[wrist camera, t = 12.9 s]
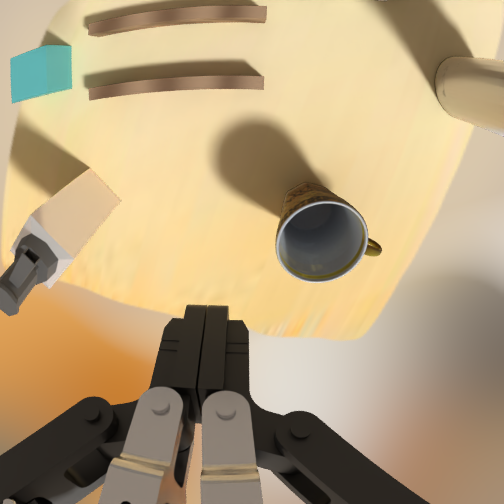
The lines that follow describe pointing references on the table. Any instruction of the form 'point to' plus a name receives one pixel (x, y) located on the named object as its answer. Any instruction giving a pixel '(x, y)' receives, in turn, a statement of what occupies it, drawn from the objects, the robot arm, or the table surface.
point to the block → (41, 72)
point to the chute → (176, 18)
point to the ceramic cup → (320, 235)
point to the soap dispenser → (55, 237)
